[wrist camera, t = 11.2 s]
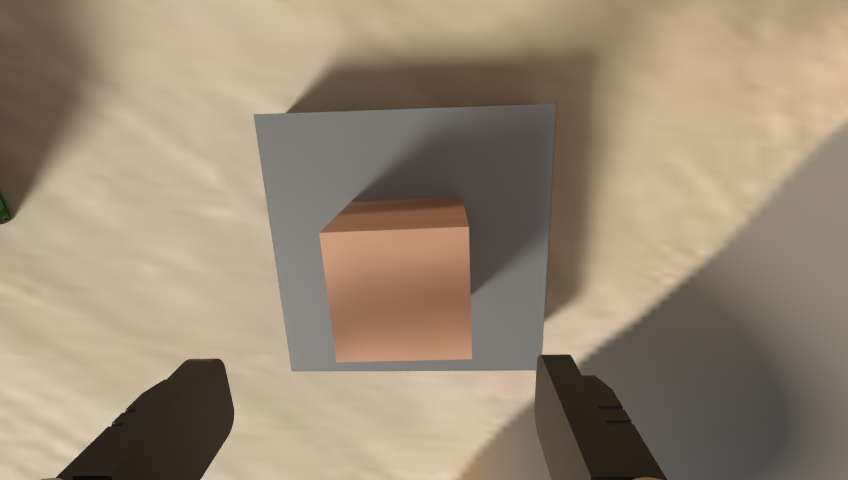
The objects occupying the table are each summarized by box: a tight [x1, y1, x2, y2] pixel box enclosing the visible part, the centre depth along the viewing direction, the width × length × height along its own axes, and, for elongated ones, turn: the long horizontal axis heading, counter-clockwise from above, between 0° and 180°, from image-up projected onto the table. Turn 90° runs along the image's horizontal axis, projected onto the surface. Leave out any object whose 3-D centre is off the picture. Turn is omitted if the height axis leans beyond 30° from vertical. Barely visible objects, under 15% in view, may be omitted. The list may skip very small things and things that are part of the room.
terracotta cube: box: [319, 197, 472, 362], centre depth 19 cm, size 6×6×6 cm
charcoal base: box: [254, 104, 556, 371], centre depth 23 cm, size 14×14×4 cm
